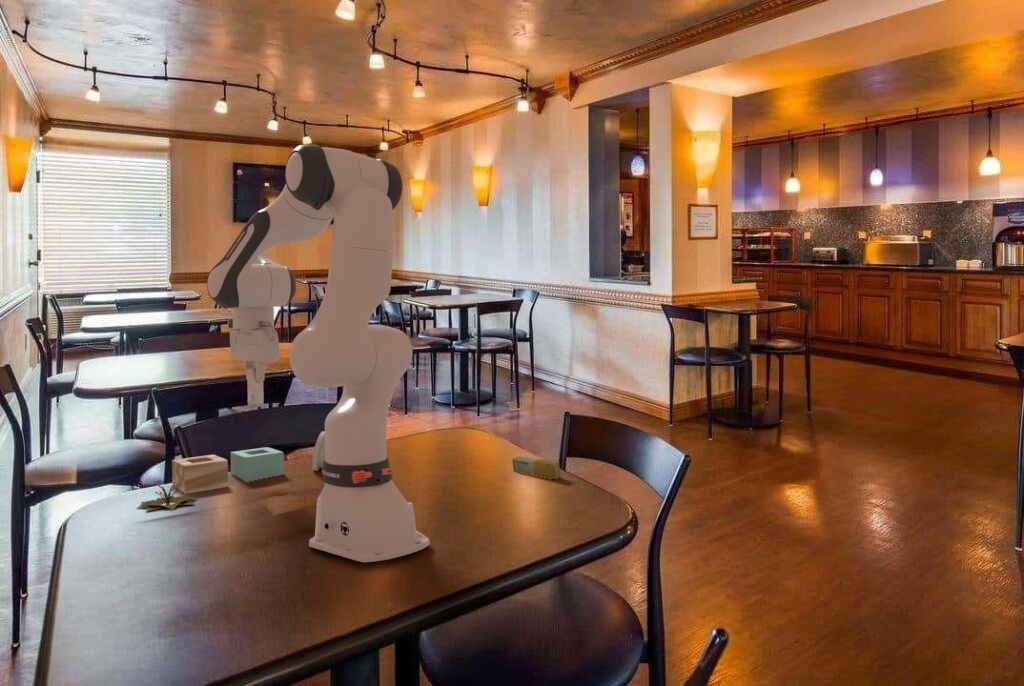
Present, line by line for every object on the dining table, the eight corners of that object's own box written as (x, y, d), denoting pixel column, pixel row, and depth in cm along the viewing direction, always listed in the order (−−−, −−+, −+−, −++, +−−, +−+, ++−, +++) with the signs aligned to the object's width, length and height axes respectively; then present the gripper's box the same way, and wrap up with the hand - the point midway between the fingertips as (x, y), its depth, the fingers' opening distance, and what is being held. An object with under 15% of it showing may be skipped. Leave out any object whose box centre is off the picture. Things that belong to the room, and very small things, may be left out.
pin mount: (228, 486, 155) (227, 460, 155) (185, 493, 149) (185, 466, 149) (213, 479, 162) (213, 454, 161) (172, 486, 156) (171, 460, 155)
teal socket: (283, 477, 164) (283, 452, 164) (245, 483, 158) (245, 457, 157) (268, 471, 170) (267, 447, 170) (231, 477, 164) (230, 452, 164)
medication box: (512, 475, 165) (511, 458, 165) (519, 472, 168) (518, 455, 167) (555, 480, 158) (553, 463, 158) (561, 477, 160) (560, 460, 160)
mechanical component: (321, 466, 174) (326, 427, 174) (338, 469, 174) (344, 430, 174) (308, 475, 164) (314, 434, 164) (326, 478, 164) (333, 437, 164)
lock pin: (266, 406, 163) (265, 368, 163) (251, 407, 161) (250, 368, 161) (260, 404, 166) (259, 367, 166) (245, 406, 163) (244, 368, 163)
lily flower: (137, 518, 132) (137, 494, 132) (131, 504, 142) (130, 482, 142) (205, 508, 139) (204, 485, 139) (194, 496, 149) (194, 474, 149)
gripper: (286, 321, 157) (287, 382, 158) (250, 321, 172) (251, 377, 173) (258, 321, 153) (260, 384, 153) (224, 321, 168) (225, 378, 168)
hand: (255, 380), depth 163 cm, fingers closed on lock pin, 3 cm apart
